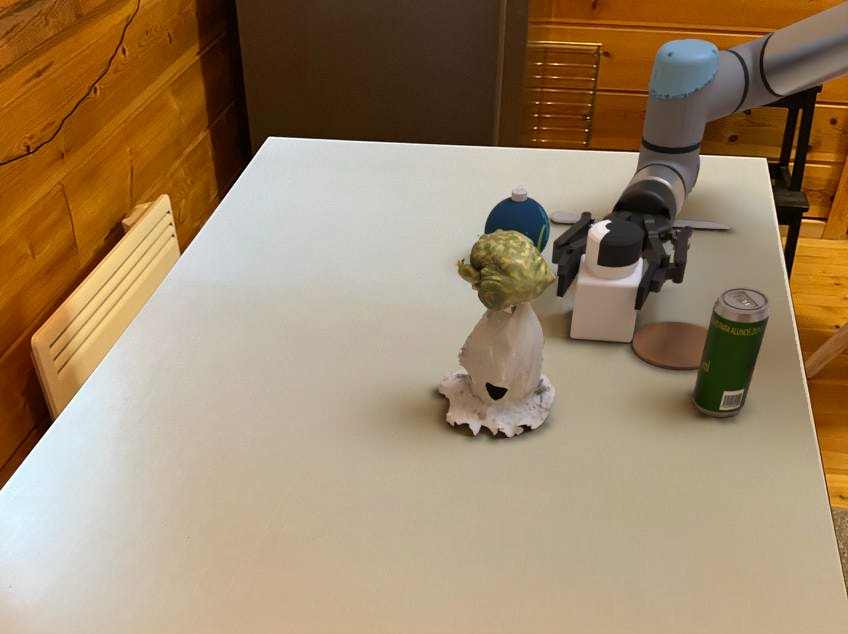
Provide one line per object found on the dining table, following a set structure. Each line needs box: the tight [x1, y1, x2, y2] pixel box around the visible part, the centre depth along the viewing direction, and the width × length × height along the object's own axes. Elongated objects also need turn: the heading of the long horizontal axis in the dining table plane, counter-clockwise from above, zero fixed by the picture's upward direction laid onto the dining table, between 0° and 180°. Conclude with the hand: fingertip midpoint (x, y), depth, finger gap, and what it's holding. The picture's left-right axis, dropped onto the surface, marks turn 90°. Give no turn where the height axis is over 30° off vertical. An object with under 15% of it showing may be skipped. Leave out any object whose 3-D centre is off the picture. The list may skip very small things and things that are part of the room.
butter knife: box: [550, 211, 730, 230], centre depth 133 cm, size 1×24×3 cm
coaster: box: [631, 321, 708, 371], centre depth 111 cm, size 10×10×1 cm
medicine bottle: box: [569, 219, 644, 344], centre depth 111 cm, size 7×7×12 cm
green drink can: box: [692, 286, 772, 418], centre depth 98 cm, size 5×5×12 cm
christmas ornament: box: [483, 184, 551, 255], centre depth 123 cm, size 8×8×10 cm
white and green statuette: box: [438, 229, 557, 438], centre depth 98 cm, size 12×13×18 cm
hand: (599, 292), depth 107 cm, fingers closed on medicine bottle, 8 cm apart
